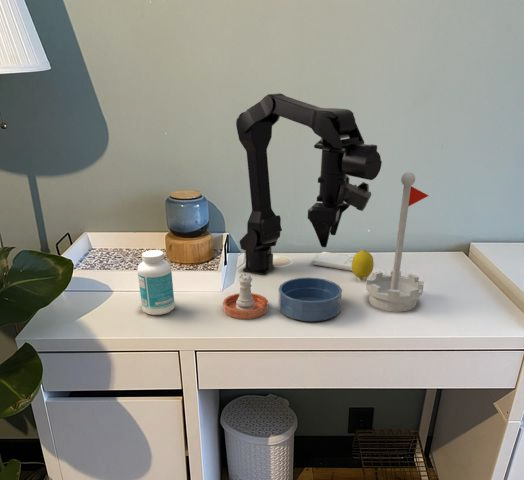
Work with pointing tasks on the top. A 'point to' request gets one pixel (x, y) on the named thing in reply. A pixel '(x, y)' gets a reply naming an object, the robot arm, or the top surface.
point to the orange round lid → (232, 311)
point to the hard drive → (334, 261)
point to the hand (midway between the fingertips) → (328, 240)
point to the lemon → (362, 264)
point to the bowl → (309, 299)
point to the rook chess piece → (245, 293)
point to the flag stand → (398, 264)
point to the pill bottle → (155, 283)
